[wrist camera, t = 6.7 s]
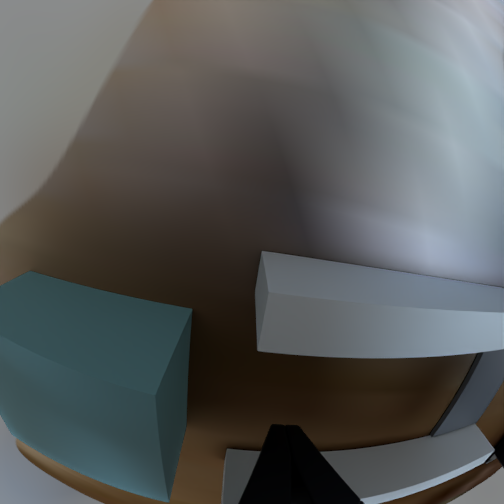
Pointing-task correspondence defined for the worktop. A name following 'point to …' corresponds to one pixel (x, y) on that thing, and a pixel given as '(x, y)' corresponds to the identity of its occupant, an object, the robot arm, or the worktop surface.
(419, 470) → the channel
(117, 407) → the teal block
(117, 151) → the worktop surface
